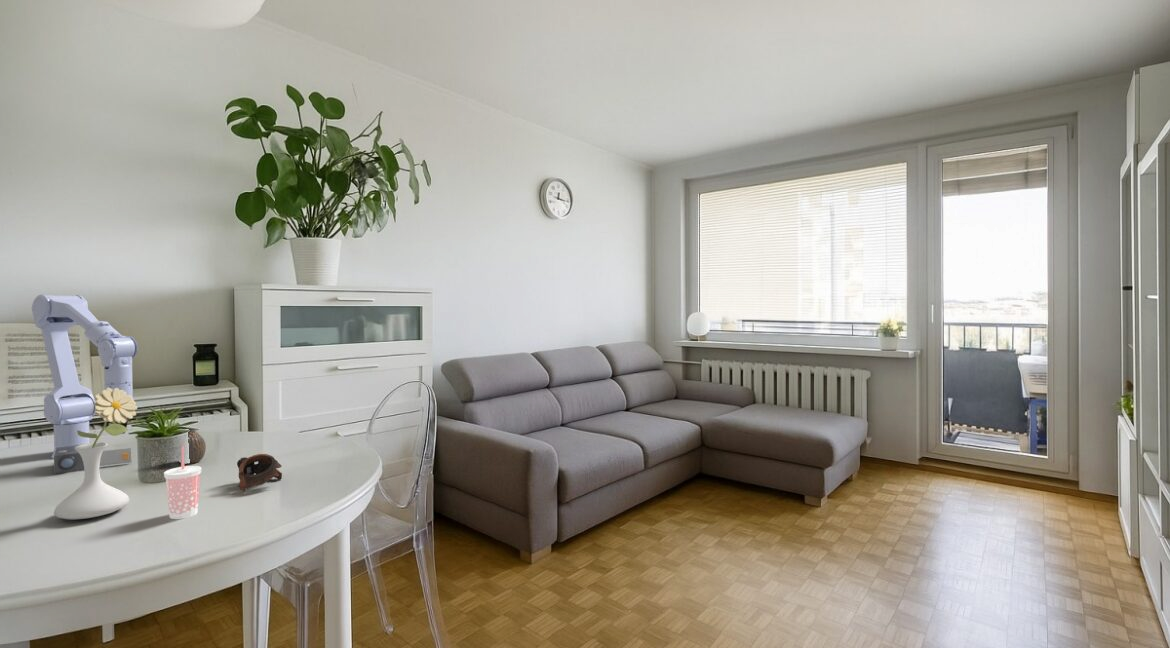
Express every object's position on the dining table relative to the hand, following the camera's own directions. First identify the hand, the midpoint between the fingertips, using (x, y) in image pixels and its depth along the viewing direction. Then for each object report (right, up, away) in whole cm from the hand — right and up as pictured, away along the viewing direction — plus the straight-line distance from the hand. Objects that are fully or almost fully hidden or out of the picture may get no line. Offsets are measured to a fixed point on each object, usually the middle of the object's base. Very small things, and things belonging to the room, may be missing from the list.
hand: (119, 433), depth 148 cm
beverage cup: (+44, -9, -37) cm, 58 cm away
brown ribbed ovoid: (+19, -8, -1) cm, 21 cm away
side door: (+2, -7, -5) cm, 9 cm away
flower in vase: (+26, -9, -36) cm, 45 cm away
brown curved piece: (+48, -9, -18) cm, 52 cm away
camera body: (-7, -7, -6) cm, 12 cm away
